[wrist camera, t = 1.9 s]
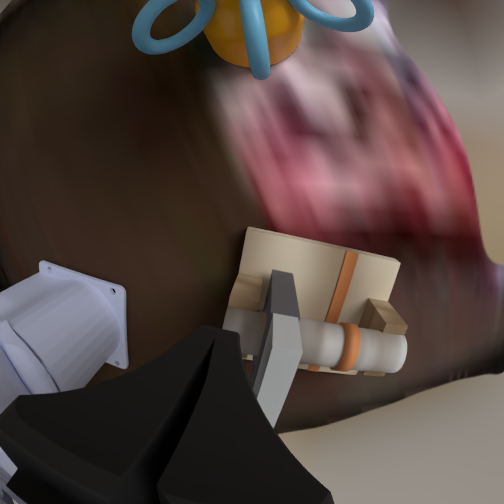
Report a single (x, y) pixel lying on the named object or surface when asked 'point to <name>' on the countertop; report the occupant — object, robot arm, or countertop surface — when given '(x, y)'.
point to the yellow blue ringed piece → (247, 28)
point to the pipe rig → (322, 303)
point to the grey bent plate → (277, 346)
